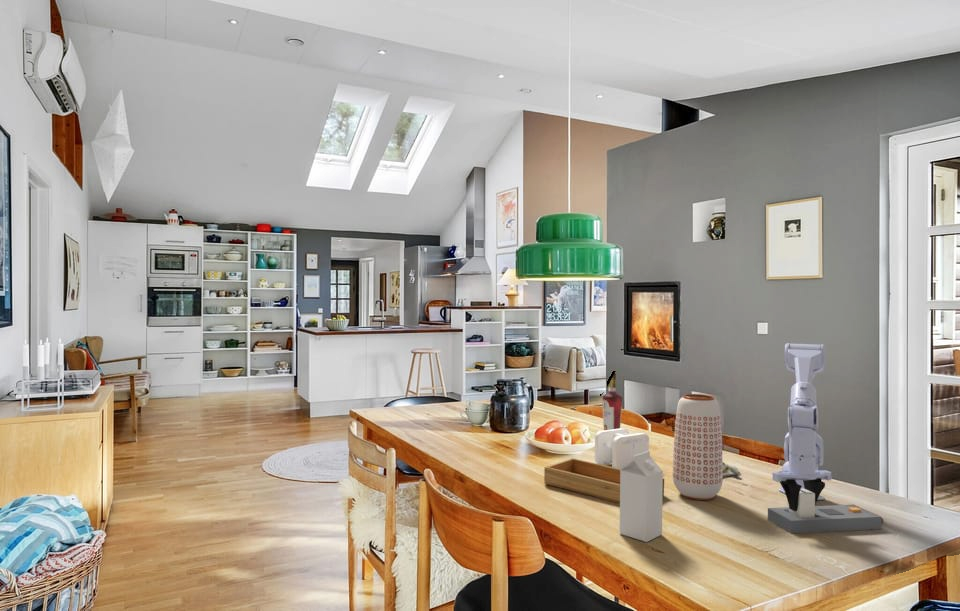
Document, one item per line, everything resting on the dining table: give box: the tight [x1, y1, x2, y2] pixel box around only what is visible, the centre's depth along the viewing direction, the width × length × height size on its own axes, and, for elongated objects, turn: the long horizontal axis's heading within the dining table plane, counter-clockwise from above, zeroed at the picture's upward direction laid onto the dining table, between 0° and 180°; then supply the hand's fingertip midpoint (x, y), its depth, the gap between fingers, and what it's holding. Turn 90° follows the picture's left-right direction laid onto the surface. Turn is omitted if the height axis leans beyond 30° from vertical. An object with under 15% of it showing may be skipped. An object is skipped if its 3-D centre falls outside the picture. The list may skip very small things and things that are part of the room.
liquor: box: [601, 372, 623, 431], centre depth 230 cm, size 7×7×28 cm
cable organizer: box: [594, 427, 650, 469], centre depth 201 cm, size 15×11×12 cm
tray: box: [543, 457, 665, 504], centre depth 176 cm, size 31×15×6 cm, turn 49°
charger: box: [789, 488, 816, 518], centre depth 149 cm, size 4×4×7 cm
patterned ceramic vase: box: [672, 393, 724, 501], centre depth 172 cm, size 13×13×28 cm
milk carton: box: [619, 450, 664, 543], centre depth 142 cm, size 7×7×19 cm
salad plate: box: [723, 462, 740, 478], centre depth 197 cm, size 19×18×5 cm
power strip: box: [767, 504, 884, 534], centre depth 150 cm, size 28×9×4 cm, turn 98°
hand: (801, 509), depth 149 cm, fingers closed on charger, 4 cm apart
